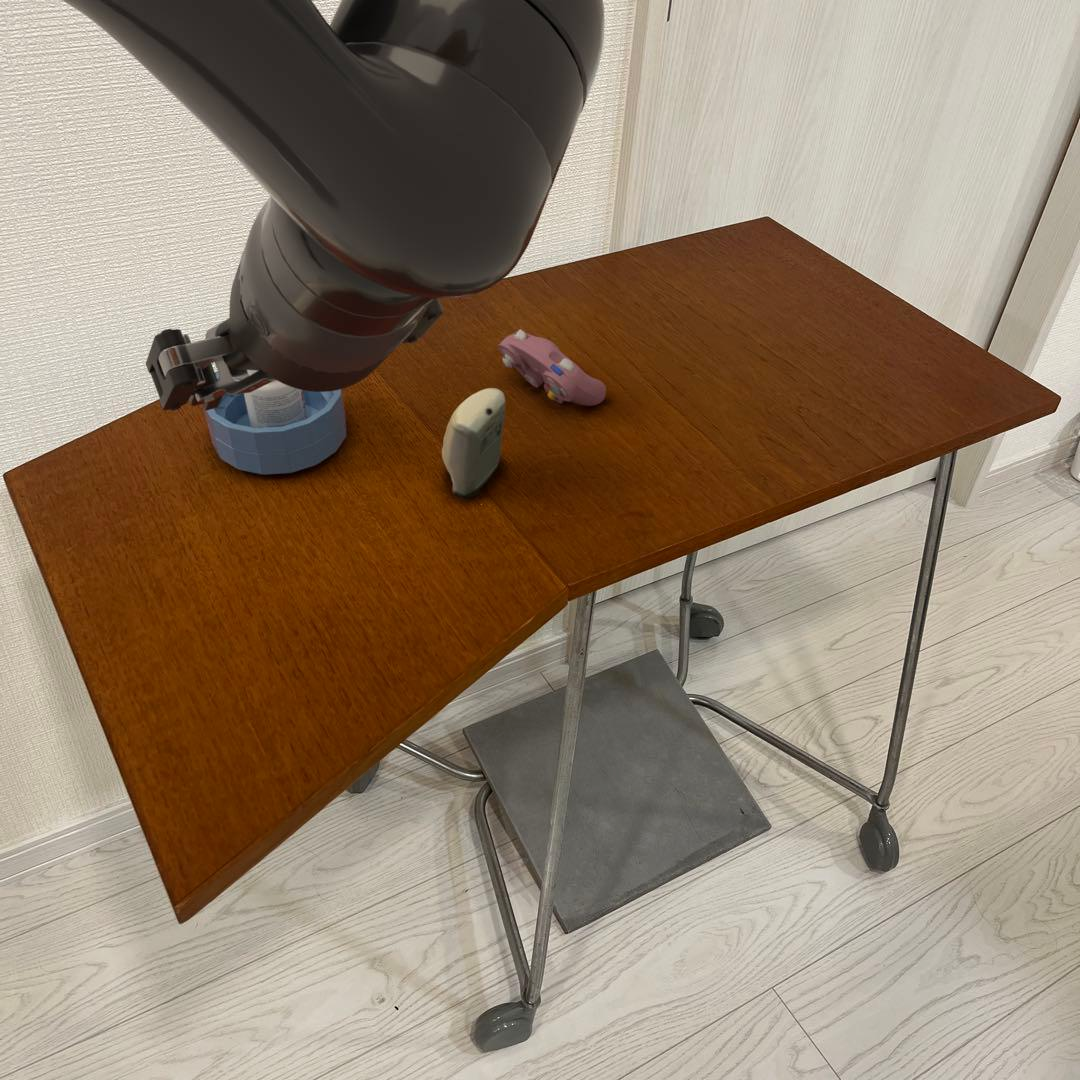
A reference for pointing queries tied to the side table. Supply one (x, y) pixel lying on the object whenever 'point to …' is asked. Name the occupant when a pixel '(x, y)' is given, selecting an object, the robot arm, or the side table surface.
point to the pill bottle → (275, 405)
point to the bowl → (278, 434)
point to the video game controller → (550, 369)
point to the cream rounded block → (474, 441)
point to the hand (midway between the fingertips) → (277, 371)
